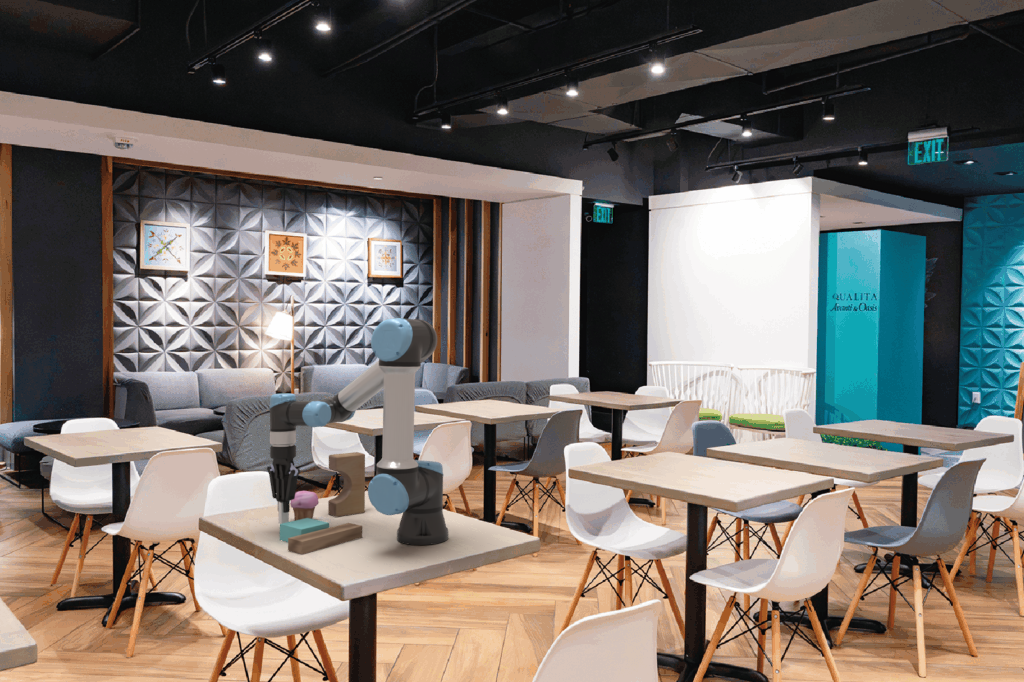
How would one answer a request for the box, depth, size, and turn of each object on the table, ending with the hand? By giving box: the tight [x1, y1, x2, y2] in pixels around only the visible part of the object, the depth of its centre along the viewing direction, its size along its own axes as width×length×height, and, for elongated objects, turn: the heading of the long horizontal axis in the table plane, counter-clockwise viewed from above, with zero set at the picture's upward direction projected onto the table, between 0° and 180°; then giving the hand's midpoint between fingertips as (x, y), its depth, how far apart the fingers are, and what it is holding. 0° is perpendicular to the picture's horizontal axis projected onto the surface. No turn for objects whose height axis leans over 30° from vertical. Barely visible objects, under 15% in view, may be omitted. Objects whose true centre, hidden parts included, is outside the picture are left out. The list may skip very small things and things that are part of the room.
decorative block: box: [327, 451, 366, 518], centre depth 255 cm, size 11×6×20 cm, turn 128°
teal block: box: [279, 518, 330, 543], centre depth 222 cm, size 10×10×5 cm
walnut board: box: [287, 522, 363, 555], centre depth 217 cm, size 6×22×4 cm, turn 144°
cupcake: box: [290, 490, 320, 521], centre depth 243 cm, size 9×9×10 cm
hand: (283, 522), depth 229 cm, fingers closed
